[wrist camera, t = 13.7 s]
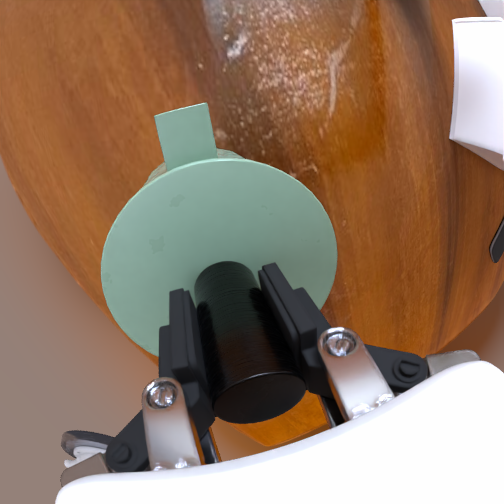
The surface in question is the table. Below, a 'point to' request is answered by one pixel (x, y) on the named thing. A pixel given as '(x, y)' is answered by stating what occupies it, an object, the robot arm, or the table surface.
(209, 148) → the pot
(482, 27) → the white box
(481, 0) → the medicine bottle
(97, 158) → the table surface
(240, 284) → the pot lid
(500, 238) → the smartphone
